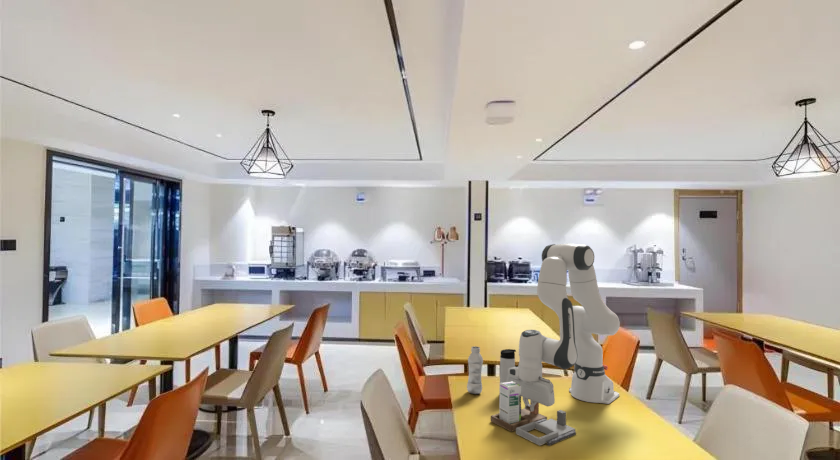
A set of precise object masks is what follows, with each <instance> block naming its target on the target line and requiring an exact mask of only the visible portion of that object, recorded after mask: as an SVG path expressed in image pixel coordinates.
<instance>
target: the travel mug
mask: <svg viewBox="0 0 840 460" xmlns="http://www.w3.org/2000/svg"><path fill="white" fill-rule="evenodd" d="M516 353H517V351H516V349H511V348H509V349H507V348H506V349H502V350H500V357H499V358H500V359H499V360H500V361H499V384H500V383H504V382H507V377H508V375H509V373H508V369H509V368H512V367H516V365H515V364H516V360H515V359H516Z"/></svg>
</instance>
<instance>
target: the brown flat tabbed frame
mask: <svg viewBox="0 0 840 460" xmlns="http://www.w3.org/2000/svg"><path fill="white" fill-rule="evenodd" d="M529 404H530V405H531V402H529ZM539 407H540V403H536V405H535V406H534V411H532V412H531V411H529V410H526V409H525V407H524V408H521V421H519V422H516V423H513V424H509V423H507V422H505V421H503V420H501V419H499V412H498V413H495V414H492V415H490V422H491V423H493V424H496V425H497V426H499V427H502V428H503V429H505V430H507V431H509V432H516V428H517V427H520V426H523V425H526V424H529V423H531V422H536V421H539V420H542V419H547V420H548V417H547V416H546V415H543V414H541V413H540V411H539V410H540V409H539Z"/></svg>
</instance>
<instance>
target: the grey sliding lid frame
mask: <svg viewBox="0 0 840 460" xmlns="http://www.w3.org/2000/svg"><path fill="white" fill-rule="evenodd" d="M532 430H537V431H539V432H541V433H544V434H545V435H543V436H537V435H534V434H532V433H530V431H532ZM571 431H575V432H576V428H575V427H573V426H570V425H568V424H567V411H564V410H562V409H559V410H556V420H555V419H553V418H549V419H547V420H546V421H544V422H541V423H536V422H531V423H529V424H526V425H523V426H520V427H517V428H516V430H515V434H516V435H518V436H519V437H522V438H523V439H526V440H527V441H530V442H531V443H534V444H536V445H537V446H539V447H540V446H542V445H545V444H547V441H549V440H552V439H554V438H557V437H559V436H561V435H564V434H566V433H569V432H571Z"/></svg>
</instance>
